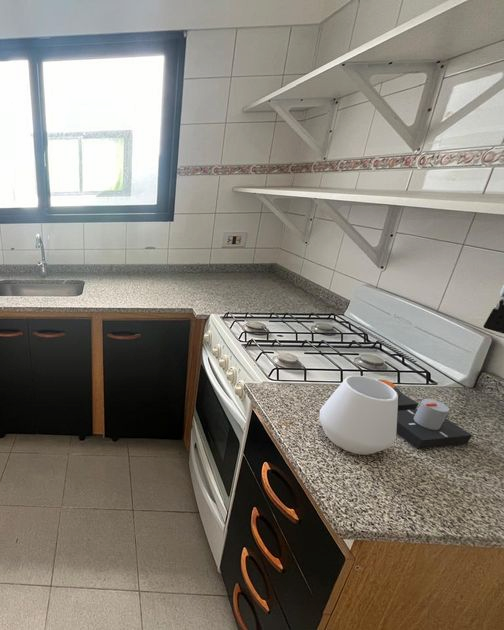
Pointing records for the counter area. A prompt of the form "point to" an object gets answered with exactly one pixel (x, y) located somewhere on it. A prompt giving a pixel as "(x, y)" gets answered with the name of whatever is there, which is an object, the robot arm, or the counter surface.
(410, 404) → the block
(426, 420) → the timer knob
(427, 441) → the timer panel
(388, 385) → the button
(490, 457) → the counter surface
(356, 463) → the counter surface
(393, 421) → the cup
